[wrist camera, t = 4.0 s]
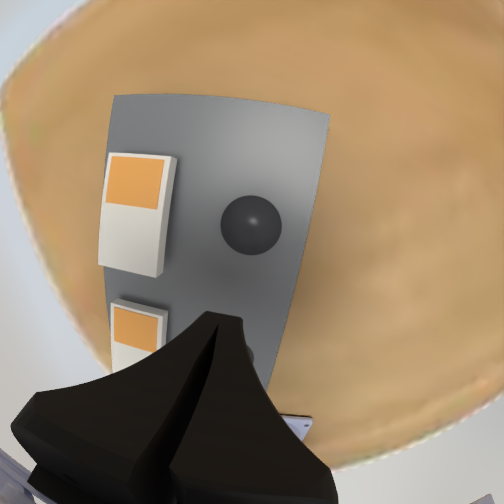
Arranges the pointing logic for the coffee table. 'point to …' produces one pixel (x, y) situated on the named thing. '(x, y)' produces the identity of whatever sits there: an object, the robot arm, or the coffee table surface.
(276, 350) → the grey switch panel
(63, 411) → the robot arm
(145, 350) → the rocker
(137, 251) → the rocker
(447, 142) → the coffee table surface
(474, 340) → the coffee table surface
